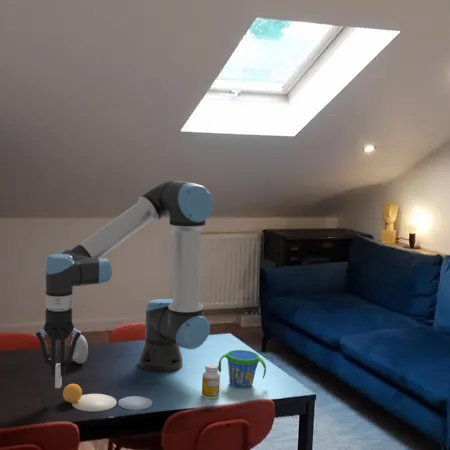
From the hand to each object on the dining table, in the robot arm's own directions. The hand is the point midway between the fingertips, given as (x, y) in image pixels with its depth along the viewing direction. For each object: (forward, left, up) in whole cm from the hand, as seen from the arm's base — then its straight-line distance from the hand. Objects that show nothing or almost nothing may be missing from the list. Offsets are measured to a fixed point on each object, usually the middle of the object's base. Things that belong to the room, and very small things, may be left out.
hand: (58, 386), depth 201 cm
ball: (-4, 0, -2) cm, 5 cm away
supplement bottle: (-45, -7, -5) cm, 46 cm away
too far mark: (-23, 0, -5) cm, 23 cm away
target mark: (-11, 0, -5) cm, 12 cm away
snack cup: (-57, -17, -5) cm, 59 cm away
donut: (-3, -35, -5) cm, 35 cm away
